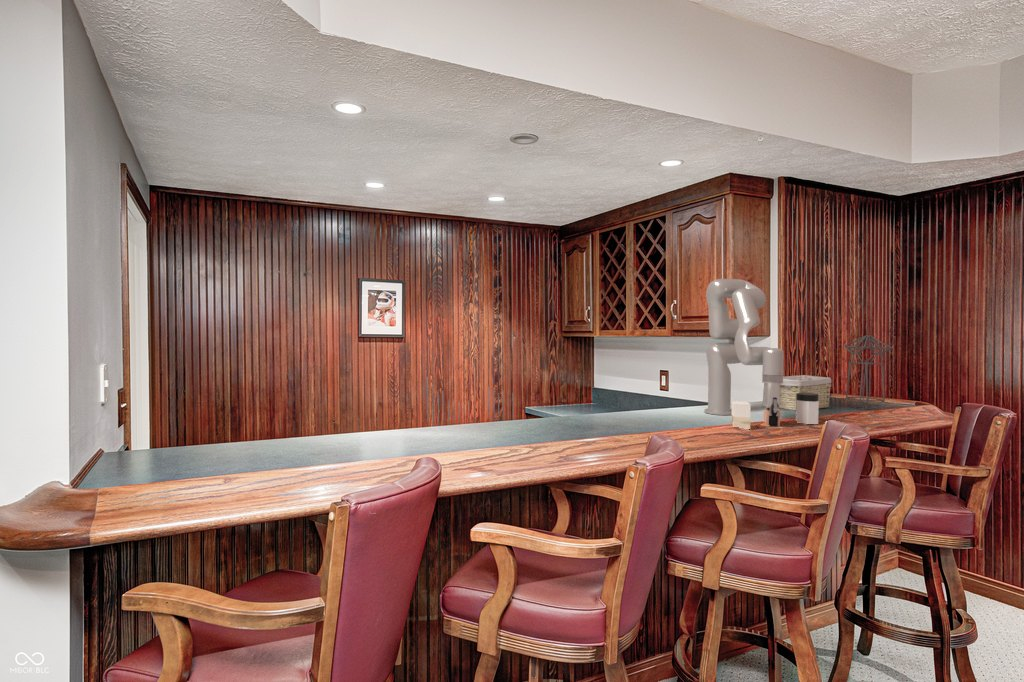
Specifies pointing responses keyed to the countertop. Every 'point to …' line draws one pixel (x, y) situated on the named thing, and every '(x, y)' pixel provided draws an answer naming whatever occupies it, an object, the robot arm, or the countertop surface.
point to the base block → (741, 422)
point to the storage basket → (804, 390)
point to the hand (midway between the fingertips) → (771, 424)
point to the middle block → (741, 409)
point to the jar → (807, 408)
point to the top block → (767, 414)
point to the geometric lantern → (866, 368)
